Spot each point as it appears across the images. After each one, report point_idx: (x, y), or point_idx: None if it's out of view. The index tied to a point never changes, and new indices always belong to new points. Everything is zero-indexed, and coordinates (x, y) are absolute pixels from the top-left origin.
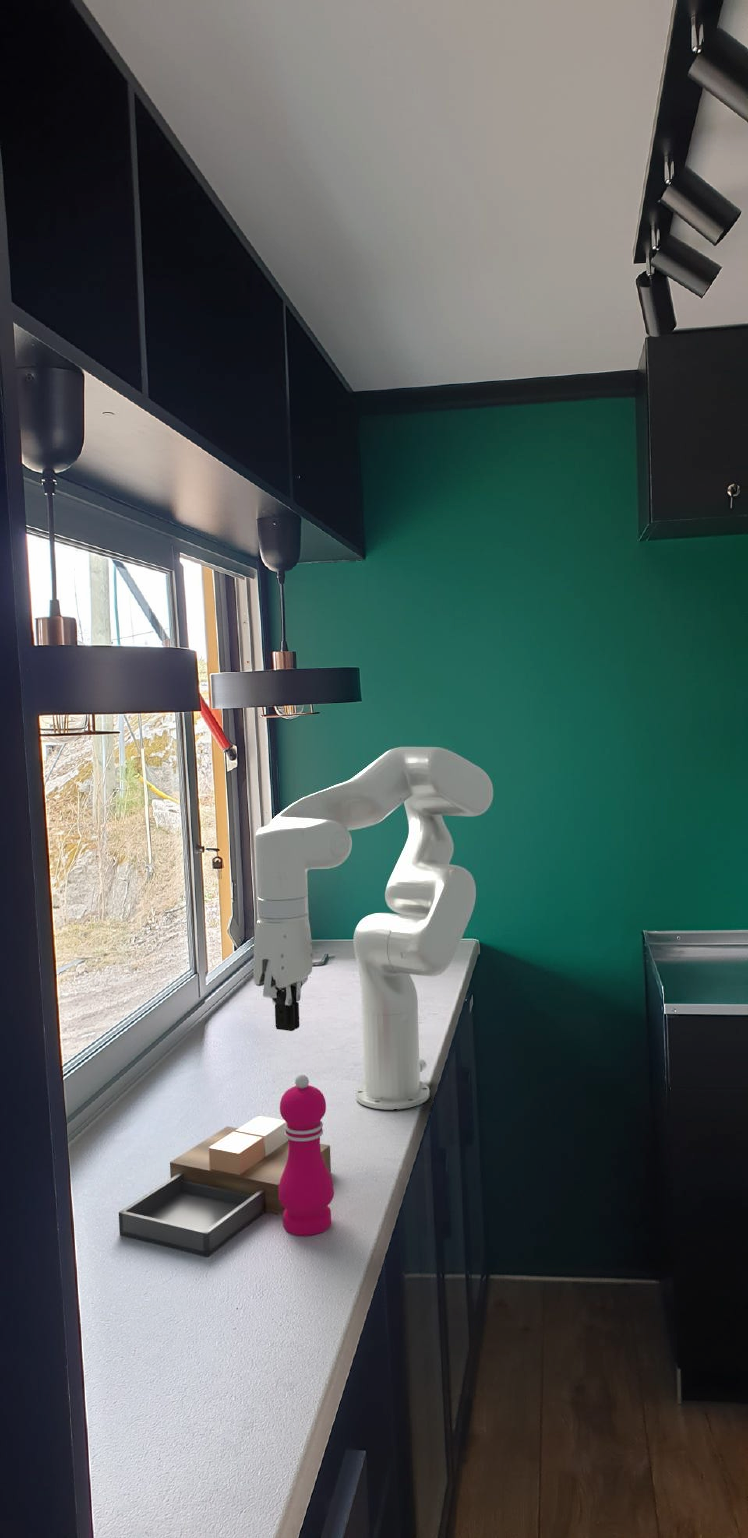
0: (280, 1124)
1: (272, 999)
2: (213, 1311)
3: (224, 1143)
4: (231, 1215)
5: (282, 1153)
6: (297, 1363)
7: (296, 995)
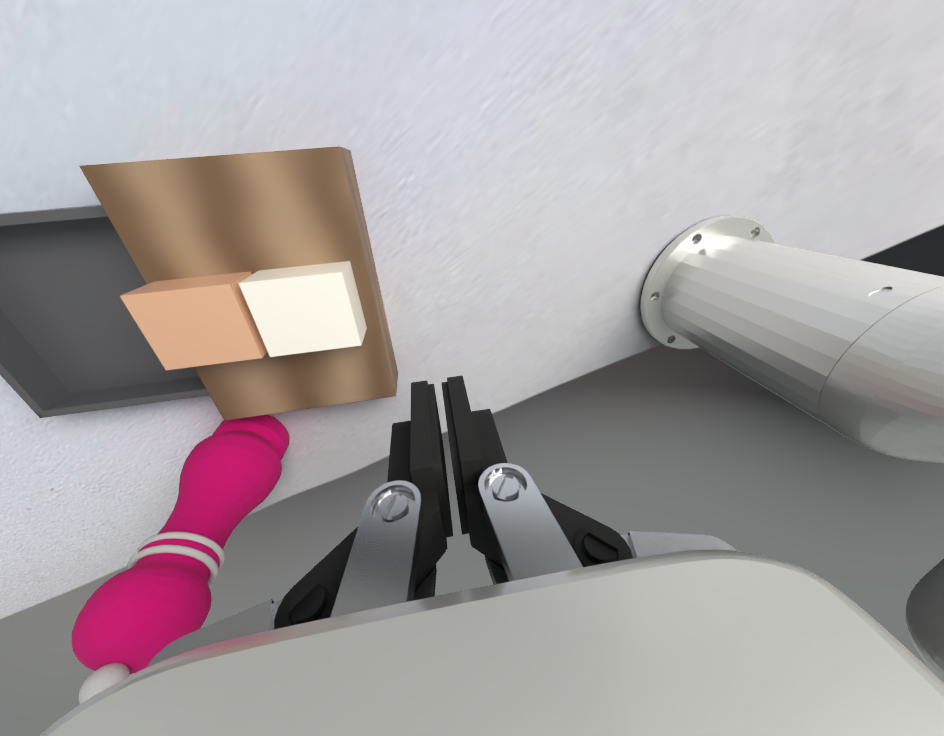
0: (337, 345)
1: (362, 518)
2: (17, 477)
3: (168, 311)
4: (113, 407)
5: (317, 353)
6: (65, 567)
7: (490, 575)
